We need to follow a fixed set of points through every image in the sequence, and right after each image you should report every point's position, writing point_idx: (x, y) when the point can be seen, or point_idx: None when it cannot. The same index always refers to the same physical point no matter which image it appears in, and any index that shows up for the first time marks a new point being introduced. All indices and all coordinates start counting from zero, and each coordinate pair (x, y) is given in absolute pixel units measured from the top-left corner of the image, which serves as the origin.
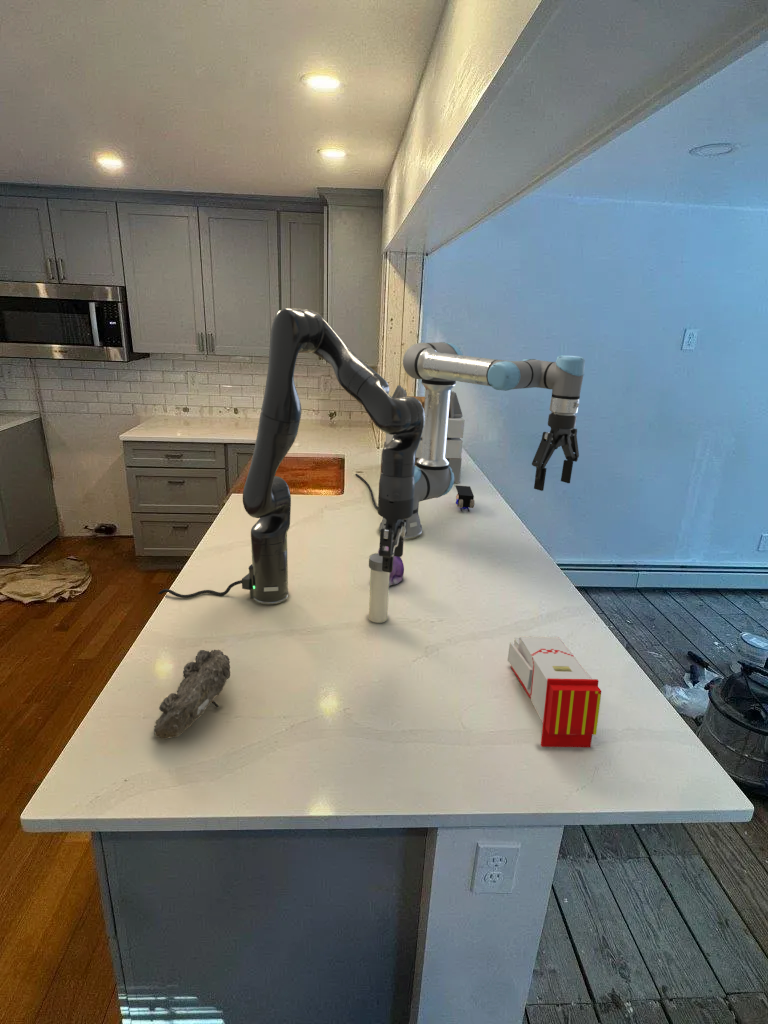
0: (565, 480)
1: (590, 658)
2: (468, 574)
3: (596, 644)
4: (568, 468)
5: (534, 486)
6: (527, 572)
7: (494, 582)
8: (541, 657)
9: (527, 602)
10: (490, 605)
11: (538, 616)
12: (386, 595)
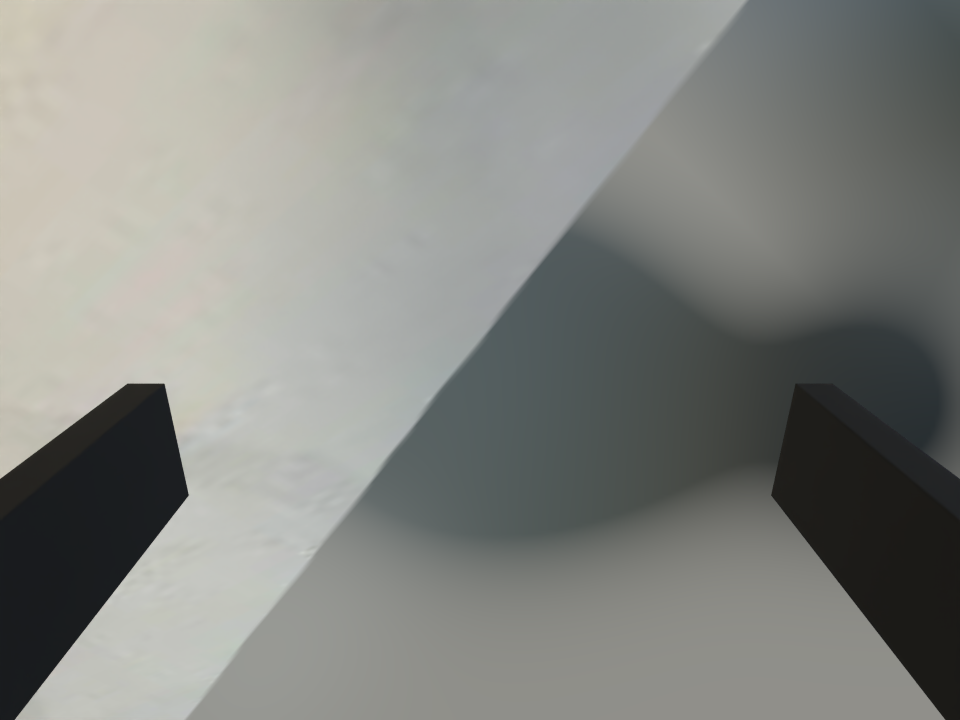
0: (796, 464)
1: (140, 629)
2: (146, 12)
3: (212, 609)
4: (915, 626)
5: (111, 402)
6: (433, 189)
7: (210, 161)
8: None
9: (211, 359)
10: (55, 289)
11: None
12: None
